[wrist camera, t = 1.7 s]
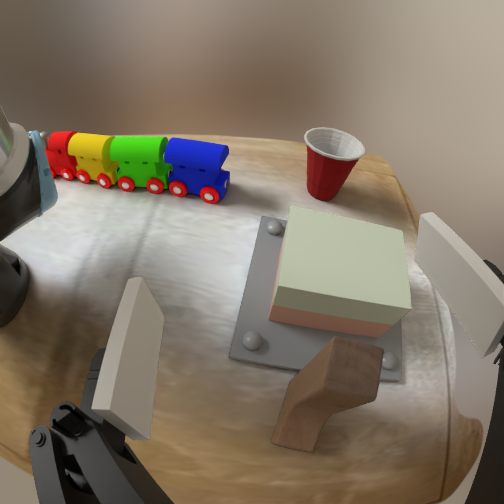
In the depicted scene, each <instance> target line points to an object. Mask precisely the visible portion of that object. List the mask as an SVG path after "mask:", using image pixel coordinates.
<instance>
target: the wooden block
mask: <svg viewBox="0 0 504 504" xmlns="http://www.w3.org/2000/svg"><path fill="white" fill-rule="evenodd" d="M383 354H384V349H383V348H382V347H378V346H374V345H370V344H366V343H362V342H358V341H354V340H351V339H347V338H343V337H339V336H334V337H333V338H332V339H331V340H330V341H329V342H328V343H327V344H326V345H325V346H324V347H323V348H322V349H321V350H320V351H319V352H318V354H317V355H316V356H315V357H314V358H313V359H312V360H311V361H310V362H309V363H308V364H307V365H306V366H305V367H304V368H303V369H302V370H301V371H300V372H299V373H298V374H297V375H296V376H295V377H294V378H293V379H292V380H291V381H290V383H289V386H288V389H287V393H286V396H285V399H284V402H283V406H282V409H281V412H280V415H279V418H278V421H277V424H276V428H275V431H274V434H273V437H272V439H271V443H272V444H274V445H278V446H282V447H287V448H291V449H295V450H300V451H305V452H313V450H314V448H315V445H316V443H317V440H318V437H319V434H320V431H321V429H322V427H323V425H324V424H325V422H326V420H327V419H328V418H329V417H330V416H331V415H332V414H333V413H336V412H340V411H344V410H347V409H350V408H354V407H357V406H360V405H364V404H367V403H370V402H373V401H374V400H375V399H376V397H377V391H378V386H379V380H380V374H381V368H382V361H383Z"/></svg>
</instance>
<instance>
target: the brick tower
mask: <svg viewBox="0 0 504 504" xmlns="http://www.w3.org/2000/svg"><path fill="white" fill-rule="evenodd" d="M411 309H412V306H411V294H410V284H409V274H408V266H407V258H406V251H405V244H404V238H403V232H402V230H398V229H394V228H390V227H386V226H382V225H378V224H374V223H369V222H365V221H361V220H357V219H352V218H348V217H343V216H339V215H334V214H330V213H325V212H321V211H316V210H311V209H306V208H301V207H296V206H291V208H290V212H289V216H288V220H287V221H286V220H281V219H276V218H271V217H265V216H262V217H261V221H260V226H259V230H258V234H257V239H256V243H255V247H254V251H253V255H252V260H251V264H250V268H249V272H248V277H247V281H246V285H245V289H244V294H243V298H242V302H241V306H240V311H239V315H238V319H237V323H236V328H235V332H234V336H233V340H232V344H231V349H230V353H229V358H230V359H235V360H239V361H244V362H249V363H254V364H260V365H265V366H270V367H276V368H282V369H288V370H294V371H301V370H302V369H303V368H304V367H305V366H306V365H307V364H308V363H309V362H310V361H311V360H312V359H313V358H314V357H315V356H316V355H317V354H318V352H319V351H320V350H321V349H322V348H323V347H324V346H325V345H326V344H327V343H328V342H329V341H330V340H331V339H332V338H333V337H334V336H339V337H343V338H347V339H351V340H354V341H358V342H362V343H366V344H370V345H374V346H378V347H382V348H383V349H384V354H383V361H382V368H381V374H380V380H381V381H396V382H397V381H399V380H401V318H402V317H403V316H404V315H406V314H407V313H408V312H409V311H410V310H411Z"/></svg>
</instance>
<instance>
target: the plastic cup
mask: <svg viewBox="0 0 504 504" xmlns="http://www.w3.org/2000/svg"><path fill="white" fill-rule="evenodd" d="M304 138H305V141H306V144H307V189H308V192H309V193H310V195H311V196H313V197H314V198H316V199H319V200H325V201H327V200H331V199H332V198H333V197H334V196H335V195H336V194H337V192H338V191H339V189H340V187H341V186H342V185H343V184H344V182H345V180H346V179H347V177H348V175H349V174H350V172H351V170H352V168H353V167H354V166H355V164H356V162H357V161H358V160H359V158H360V157H362V156H363V155H364V152H365V148H364V146H363V144H362V143H361V142H360V141H359V140H358V139H356V138H355V137H354V136H352V135H350V134H348V133H346V132H343V131H339V130H336V129H332V128H313V129H311V130H309V131H307V132H306V134H305V136H304Z"/></svg>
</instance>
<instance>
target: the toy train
mask: <svg viewBox="0 0 504 504" xmlns="http://www.w3.org/2000/svg"><path fill="white" fill-rule="evenodd" d="M40 135H41V139H42V142H43V145H44V149H45V152H46V156H47V159H48V163H49V166H50V170H51V173H52V176H53V178H55V176H56V175H62V177H63V178H64V179H65V180H68V181H71V180H72V179H73V178H74V176H76V177H77V178H78V179H79V180H80V181H81V182H82V183H86V184H87V183H88V182H89V181H90V179H91V180H95V181H97V182H98V184H99V185H100V186H101V187H103V188H109V187H110V186H111V185H112V184H115V183H116V182H117V181H118V185H119V187H120V188H121V189H122V190H124V191H132V190H133V189H134V188H135V186H137V187H146V188H147V189H148V190H149V191H150V192H151V193H157V194H158V193H161V192H162V191H163V190H164V188H165V189H167V188H168V186H169V190H170V192H171V193H172V194H173V195H175V196H178V197H183V196H185V195H186V194H187V193H192V194H197V195H200V197H201V198H202V200H203V201H205V202H207V203H211V204H213V203H216V202H217V201H218V200H219V199H221V200H222V199H223V197H224V195H225V192H226V190H227V188H228V186H229V184H230V172H229V171H225V170H223V169H221V167H222V165H223V163H224V161H225V159H226V157H227V156H228V154H229V148H228V146H227V145H221V144H215V143H209V142H202V141H195V140H188V139H181V138H171V139H170V140H169V142H168V139H167V138H166V137H114V136H106V135H95V134H84V133H77V132H75V131H68V132H55V133H53V134H52V135H51V136H50V138H49V141H48V133H47V132H41V133H40ZM164 152H165V154H164ZM163 154H164V158H163ZM169 184H170V185H169Z"/></svg>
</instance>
